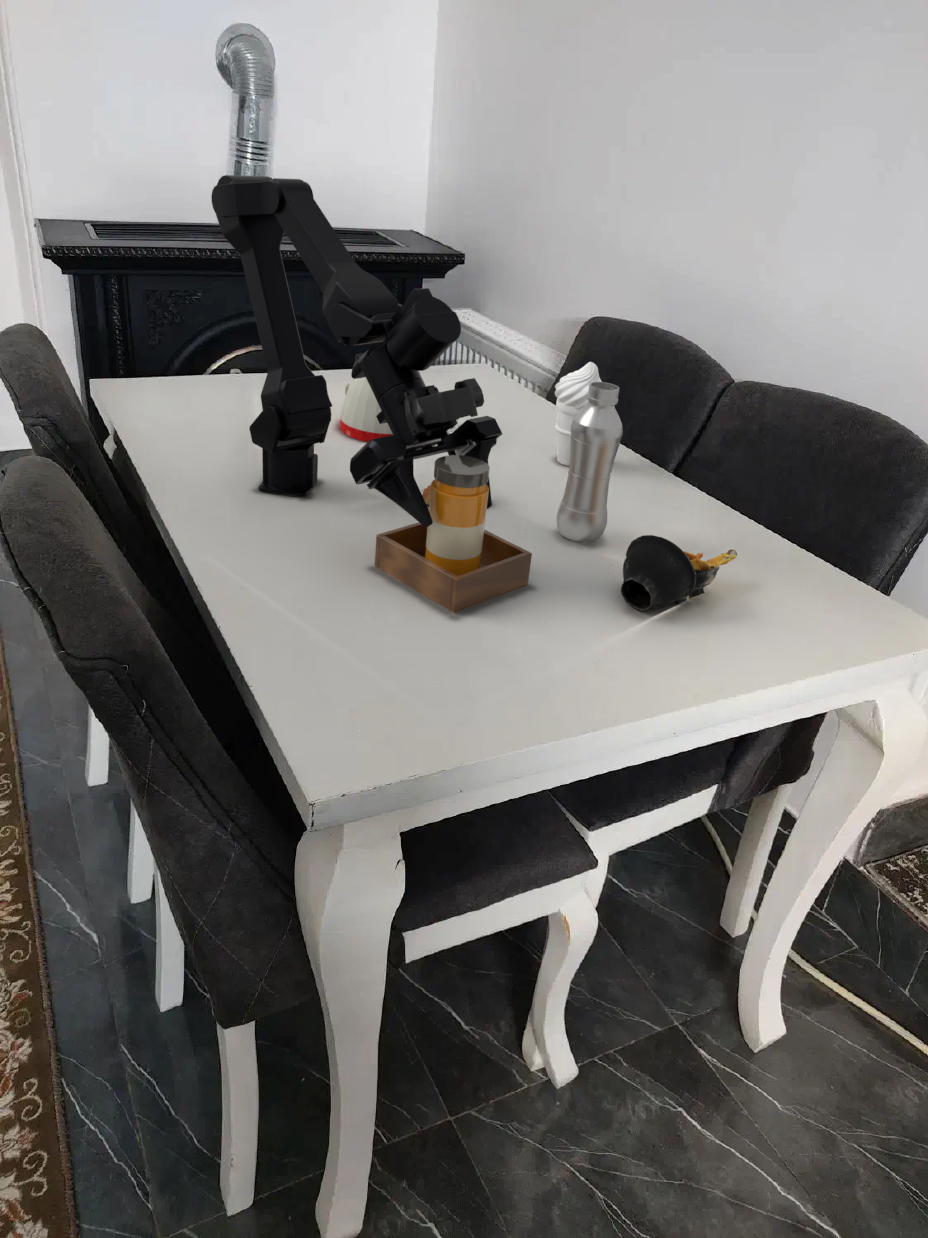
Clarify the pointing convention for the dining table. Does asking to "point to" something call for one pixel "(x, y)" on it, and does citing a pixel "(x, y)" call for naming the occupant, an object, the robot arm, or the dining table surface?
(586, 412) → the silver metal bottle
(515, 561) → the wooden box
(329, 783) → the dining table surface
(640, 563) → the fried shrimp in bowl
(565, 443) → the ice cream cone
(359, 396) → the kitchen timer
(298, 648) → the dining table surface
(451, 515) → the jar
